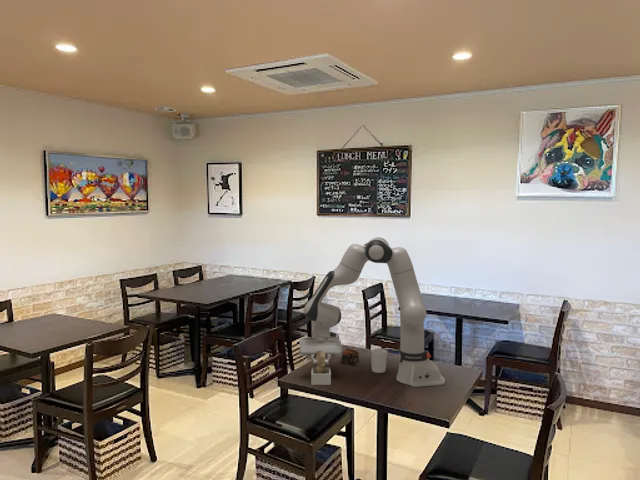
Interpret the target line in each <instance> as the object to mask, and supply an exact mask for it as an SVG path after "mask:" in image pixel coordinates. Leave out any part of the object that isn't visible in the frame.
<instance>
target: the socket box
mask: <svg viewBox="0 0 640 480" xmlns="http://www.w3.org/2000/svg"><path fill="white" fill-rule="evenodd" d="M310 368H311V373H310V374H311V376H310V377H311V380H310V382H311V383H310V384H311V386H330V385H331V384H332V377H331V376H332V372H331V367H325V374H317V367H310Z"/></svg>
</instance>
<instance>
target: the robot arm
mask: <svg viewBox="0 0 640 480" xmlns="http://www.w3.org/2000/svg"><path fill="white" fill-rule="evenodd" d="M369 261H370V262H371V263H375V264H386V265H387V267H388V270H389V273H390V277H391V280H392V281H391V282H392V284H393V288H394V292H395V296H396V299H397V302H398V306H399V314H400V315H399V322H400V323H399V324H400V327H399V330H400V341H399V342H400V344H399V351H398V362H399V363H398V370H397V371H398V372H397V373H396V377H395V378H396V380H397V381H398V382H399V383H402V384H404V385H409V386H411V387H413V388H419V387H431V386H443V385H445V384H446V378H445V377H444V376H443V375H442V374H441V372H440V368H439V367H438V365H437V364H436V363H434V362H433V361H432V360H430V358H432V355H431V354H430V353H429V352H428V351H427V350H425V326H424V325H425V323H424V322H425V319H426V317H427V309H426V305H425V303H424V302H425V301H424V300H423V297H422V296H423V295H422V293H421V290H420V287H419V283H418V279H417V275H416V272H415V269H414V265H413V262H412V259H411V257H410V255H409V253H408V251H407V249H406V248H404V247H401V246H396V247H391V246H390V244H389V243H388V241H387V240H386V239H384V238H382V237H373V238H372V239H370V240H369V241H368V242H366V243H365V244H364V245H361V244H358V243H353V244H351V245H350V246H348V248H347V249H346V251H345V252H344V253H343V255H342V257H341V260H340V262H339V264H338V265H337V266H336V267H335V268H334V269H333V270H331V271H328V272H327V274H326V275H325V276H324V278H323V279H322V281H321V282H320V284H319V285H318V287H317V288H316V290H315V291H314V293H313V294H312V296H311V297H310V299H308V301H307V302H306V303H305V305H304V307H303V315H304V317H305V318H306V319H307V321H311V326H312V329H311V337H310V336H308V337H305V336H303V337H300V339H299V341H298V345H299V355H300V356H301V357H311V360H312V362H313V365H317V358H316V359H315V357H317V351H325V357H326V358H327V359H325V365H329V361H330V360H331V357H342V355H343V347H342V343H341V342H342V341H341V340H340V334H339V333H337V332H332V331H331V330H330V328H333V327H335V326H337V325H338V324H339V323H340V322H341V319H342V312H341V308H339V306H336V305H333V304H331V303H330V304H329V303H326V302H322V301H323V300H324V299H325V297H326V296H327V294H328V292H329V291H330V289H332V288H333V287H337V286H346V285H347V286H349V285H352V284H353V283H355V282H357V280H358V279H359V277H360V276H361V273H362V271H363V269H364V267H365V265H366V263H367V262H369Z"/></svg>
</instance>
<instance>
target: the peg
mask: <svg viewBox="0 0 640 480" xmlns="http://www.w3.org/2000/svg"><path fill="white" fill-rule="evenodd" d="M316 360H317V364H316V368H317V374H325V368H326V364H325V360H326V356H325V351H317V356H316Z"/></svg>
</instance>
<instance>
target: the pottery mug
mask: <svg viewBox="0 0 640 480" xmlns="http://www.w3.org/2000/svg"><path fill="white" fill-rule="evenodd" d="M359 355H360V353H359V351H357V350H355V349H352V348H347V347H346V348H345V350H344V351H342V355H341V358H340V363H342V364H345V365H347V366H348V365H349V363H350V364H354V362H355V360H356V362H359V360H360V356H359Z"/></svg>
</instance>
